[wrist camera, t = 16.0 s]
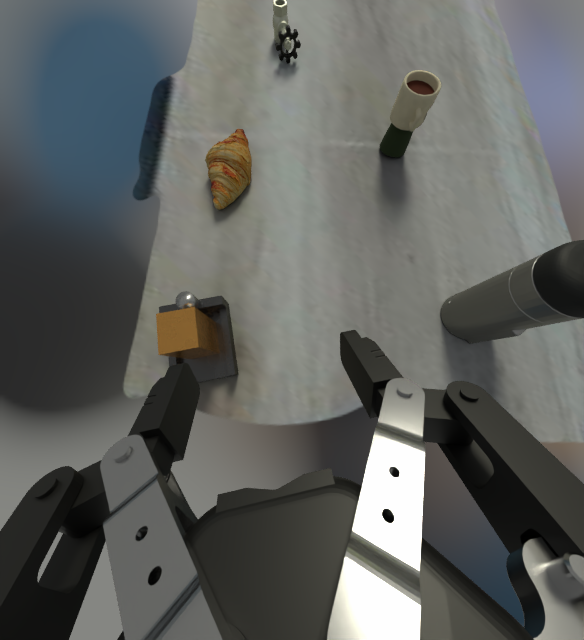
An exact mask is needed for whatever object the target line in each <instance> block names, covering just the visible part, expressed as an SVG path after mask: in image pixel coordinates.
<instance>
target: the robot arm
mask: <svg viewBox="0 0 584 640" xmlns="http://www.w3.org/2000/svg"><path fill="white" fill-rule="evenodd" d="M441 318H442V321H443V324H444V325H445V327H446V328H447V329H448V330H449V332H451V333H452V334H453V335H455V336H457V337H459V338H462V339H465V340H467V341H468V342H469V343H470V344H471V343H477V342H484V341H490V340H496V339H502V338H508V337H514V336H519V335H521V334H522V333H523V332H524V331H525V330H526V329H529V328H534V327H539V326H545V325H550V324H555V323H560V322H566V321H571V320H576V319H582V318H584V240H579V241H573V242H569V243H566V244H563V245H561V246H558V247H556V248H554V249H552V250H550V251H548V252H546V253H544V254H542V255H540V256H537V257H535V258H533V259H531V260H529V261H527V262H525V263H522V264H520V265H518V266H516V267H514V268H512V269H510V270H508V271H505V272H503V273H501V274H499V275H497V276H495V277H492V278H490V279H488V280H486V281H484V282H482V283H480V284H477V285H475V286H473V287H471V288H469V289H467V290H465V291H462V292H460V293H458V294H456V295H454V296H452V297H450V298H448V299H447V300H446V301H445V302H444V304H443V306H442V309H441ZM340 355H341V361H342V364H343V366H344V368H345V370H346V372H347V374H348V376H349V378H350V380H351V382H352V384H353V386H354V388H355V390H356V392H357V394H358V396H359V398H360V400H361V402H362V404H363V406H364V408H365V409H366V411H367V413H368V415H369V417H370V418H374V417H378V418H379V420H378V424H377V426H376V429H375V433H374V437H373V442H372V446H371V450H370V455H369V459H368V463H367V467H366V472H365V476H364V480H363V485H362V486H361V485H359V484H357V483H355V482H353V481H351V480H348V479H346V478H342V477H335V476H333V475H332V471H331V468H328V469H324V470H320V471H315V472H311V473H307V474H303V475H302V476H300V477H298V478H296V479H295V480H293V481H291V482H290V483H287V484H286V485H284V486H282V487H281V488H279V489H276V490H267V489H253V488H244V489H240V490H236V491H231V492H227V493H223V494H219V495H218V499H217V505H216V506H214V507H213V508H211V509H210V510H209V511H207V512H206V513H205V514H204V515H203V516H202V517H201V518H200V519H199V520H198V519H197V517H196V516H195V514H194V513H193V511H192V510H191V508H190V507H189V505H188V503H187V501H186V499H185V497H184V495H183V493H182V491H181V489H180V487H179V485H178V483H177V481H176V479H175V477H174V475H173V473H172V472H171V466H172V463H173V462H175V461H180V460H183V458H184V454H185V450H186V446H187V442H188V439H189V435H190V431H191V426H192V423H193V419H194V415H195V411H196V407H197V403H198V399H199V395H200V388H199V384H198V382H197V380H196V378H195V376H194V374H193V372H192V370H191V368H190V366H189V364H188V363H182V364H177V365H172V366H170V367H169V368H168V371H167V373H166V375H165V377H164V378H160V379H159V380H158V381H157V383H156V384H155V385H154V386H153V387H152V389H151V391H150V393H149V395H148V398H147V399H146V401H145V403H144V406H143V407H142V409H141V411H140V413H139V415H138V417H137V419H136V421H135V423H134V425H133V427H132V429H131V431H130V433H129V435H128V436H127V437H125V438H123V439H121V440H120V441H118V442H117V443H115V444H114V445H113V446H112V447H111V448H110V449H109V450H108V451H107V452H106V454H105V455H104V457H103V459H102V460H101V461H99V462H97V463H95V464H92V465H91V466H89V467H87V468H84V469H82V470H80V471H78V472H77V471H76V470H74V469H73V468H72V467H69V466H65V467H60V468H58V469H55V470H53V471H52V472H50V473H48V474H47V475H45V476H44V477H43V478H41V479H40V480H39V481H38V482H37V483H35V485H33V487H31V489H30V490H29V491H28V492H27V493H26V495H25V496H24V498H23V499H22V501H21V502H20V503H19V505H18V506H17V508H16V509H15V511H14V512H13V514H12V515H11V516H10V518H9V519H8V521H7V522H6V524H5V525H4V527H3V528H2V529H1V531H0V640H69V637H70V635H71V632H72V630H73V627H74V624H75V621H76V619H77V616H78V613H79V611H80V608H81V605H82V602H83V600H84V597H85V595H86V592H87V589H88V587H89V584H90V581H91V579H92V576H93V573H94V570H95V568H96V565H97V562H98V560H99V557H100V554H101V552H102V549H103V546H104V543H105V541H106V544H107V549H108V554H109V559H110V564H111V570H112V575H113V580H114V585H115V590H116V595H117V600H118V606H119V610H120V616H121V621H122V626H123V632H122V633H121V635H120V636H119V638H118V639H117V640H584V484H583V483H582V482H581V481H580V480H579V479H578V478H577V477H576V476H575V475H574V474H572V473H571V472H570V471H569V470H568V469H567V468H566V467H565V466H564V465H563V464H562V463H561V462H560V461H559V460H558V459H557V458H556V457H555V456H553V455H552V454H551V453H550V452H549V451H548V450H547V449H546V448H545V447H544V446H543V445H542V444H541V443H540V442H539V441H538V440H537V439H536V438H534V437H533V436H532V435H531V434H530V433H529V432H528V431H527V430H526V429H525V428H524V427H523V426H522V425H521V424H520V423H519V422H518V421H517V420H515V419H514V418H513V417H512V416H511V415H510V414H509V413H508V412H507V411H506V410H505V409H504V408H503V407H502V406H501V405H500V404H499V403H498V402H496V401H495V400H494V399H493V398H492V397H491V396H490V395H489V394H488V393H487V392H486V391H485V390H483V389H482V388H480V387H479V386H477V385H474V384H472V383H469V382H464V381H455V382H452V383H450V384H449V385H448V386H447V389H446V390H436V389H424V388H421V387H420V386H419V385H418V384H417V383H415V382H414V381H411V380H409V379H405V378H403V377H402V375H401V374H400V373H399V372H398V370H397V369H396V368H395V366H394V365H393V364H392V363H391V361H390V360H389V359H388V358H387V356H385V354H384V353H383V351H381V349H380V348H379V346H378V345H377V344H376V343H375V342H374V341H372V340H371V339H369V338H367V337H365V338H361V337H360V335H359V334H358V333H357V331H356V330H351V331H346V332H341V334H340ZM423 441H425V442H434V443H438V445H439V446H440V448H441V449H442V451H443V452H444V454H445V455H446V457H447V458H448V460H449V462H450V463H451V464H452V466H453V468H454V469H455V471H456V472H457V474H458V475H459V477H460V478H461V480H462V481H463V483H464V484H465V486H466V487H467V489H468V490H469V492H470V493H471V495H472V497H473V498H474V500H475V501H476V503H477V504H478V506H479V507H480V509H481V510H482V512H483V513H484V515H485V516H486V518H487V519H488V521H489V523H490V524H491V525H492V527H493V528H494V530H495V532H496V533H497V535H498V536H499V538H500V539H501V541H502V542H503V544H504V545H505V547H506V548H507V550H508V551H509V553H510V555H509V556H508V558H507V563H506V564H507V565H506V567H507V573H508V577H509V579H510V582H511V584H512V586H513V588H514V590H515V592H516V594H517V596H518V598H519V601H520V603H521V606H522V610H523V613H524V627H523V626H522V625H521V624H520V623H519V622H518V621H517V620H516V619H514V617H513V616H512V615H510V614H509V613H508V612H507V611H506V610H505V609H504V608H503V607H501V606H500V605H499V604H498V603H497V602H496V601H495V600H493V599H492V598H491V597H490V596H489V595H488V594H486V593H485V592H484V591H483V590H482V589H481V588H480V587H478V586H477V585H476V584H475V583H474V582H473V581H472V580H470V579H469V578H468V577H467V576H466V575H465V574H463V573H462V572H461V571H460V570H459V569H458V568H456V567H455V566H454V565H453V564H452V563H451V562H450V561H448V560H447V559H446V558H445V557H444V556H443V555H442V554H440V553H439V552H438V551H437V550H436V549H435V548H434V547H432V546H431V545H430V544H429V543H428V542H427V541H425V540H424V539H423V538H422V537H421V529H422V526H421V525H422V506H423V484H424V461H425V443H424V442H423ZM58 531H59V532H61V533H63V535H62V537H61V539H60V541H59V543H58V545H57V547H56V549H55V551H54V553H53V555H52V557H51V559H50V561H49V563H48V565H47V567H46V569H45V571H44V573H43V574H42V576H41V578H40V581H39V582H38V581H37V576H38V572H39V568H40V566H41V564H42V562H43V560H44V558H45V556H46V554H47V552H48V551H49V549H50V547H51V545H52V543H53V541H54V539H55V537H56V535H57V533H58Z"/></svg>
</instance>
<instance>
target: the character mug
mask: <svg viewBox="0 0 584 640" xmlns="http://www.w3.org/2000/svg"><path fill="white" fill-rule="evenodd" d="M440 89H441V82H440V80H439V78H437V77H436V76H435V75H434V74H432V73H430V72H428V71H423V70H416V71H412V72H410V73H408V74H407V76H406V77H405V78H404V81H403V83H402V86H401V88H400V91H399V93H398V96H397V98H396V101H395V103H394V106H393V108H392V111H391V115H390V120H391V122H392V123H391V125H390V127H389V128H388V130H387V132H386V134H385V136H384V138H383V140H382V142H381V144H380V150H381V151H382V152H383V153H384V154H386V155H388V156H391V157H401V156H402V155H403V154H404V153H405V151H406V148H407V146H408V144H409V141H410V139H411V136H412V133H413V131H414V130H415V129H416V128H418V127H419V126H421V124H422V123H423V122H424V120H425V117H426V115H427V112H428V110H429V109H430V108H431V106H432V105H433V103H434V101H435V99H436V97H437V95H438V93H439V91H440Z"/></svg>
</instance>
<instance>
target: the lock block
mask: <svg viewBox="0 0 584 640" xmlns="http://www.w3.org/2000/svg"><path fill="white" fill-rule="evenodd" d="M156 318H157V335H158V351H159V355H164V356H171V357H177V358H184V359H194V358H199V357H204V356H209V355H214V354H219V353H220V351H219V343H218V335H217V327H216V322H215V321H213V320H212V319H211V318H209V317H208V316H206V315H205V314H204V313H202V312H201V311H199V310H198V309H197V308H195V307H191V308H186V309H180V310H175V311H169V312H164V313H158V314H156Z"/></svg>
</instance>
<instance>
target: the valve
mask: <svg viewBox="0 0 584 640" xmlns="http://www.w3.org/2000/svg"><path fill="white" fill-rule="evenodd" d="M273 11H274V15H273V27H274V38H275V41H276V45H275V47H276V50H277V51H279V50H280V51H281V54H279V59H280V60H281V61H282V60H283V58H284V57H285V58H286V62H287V63H290V57H292V56H293V57H294V59H296V58H297V52H296V48H300V46H301V44H300V41H299V40H298V41H296V38H297V36H298V32H297V30H296V29H294V33H293V34H292V33H291V29H290V26H289V25H288V17H287V2H286V0H274V1H273ZM292 39H293V40H294V48H293V50H292V52H291V53H288V51H289V50H290V49H291V40H292ZM278 43H280V44H278ZM282 44H284V47H285V49H286V53H284V52H283V50H282Z"/></svg>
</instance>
